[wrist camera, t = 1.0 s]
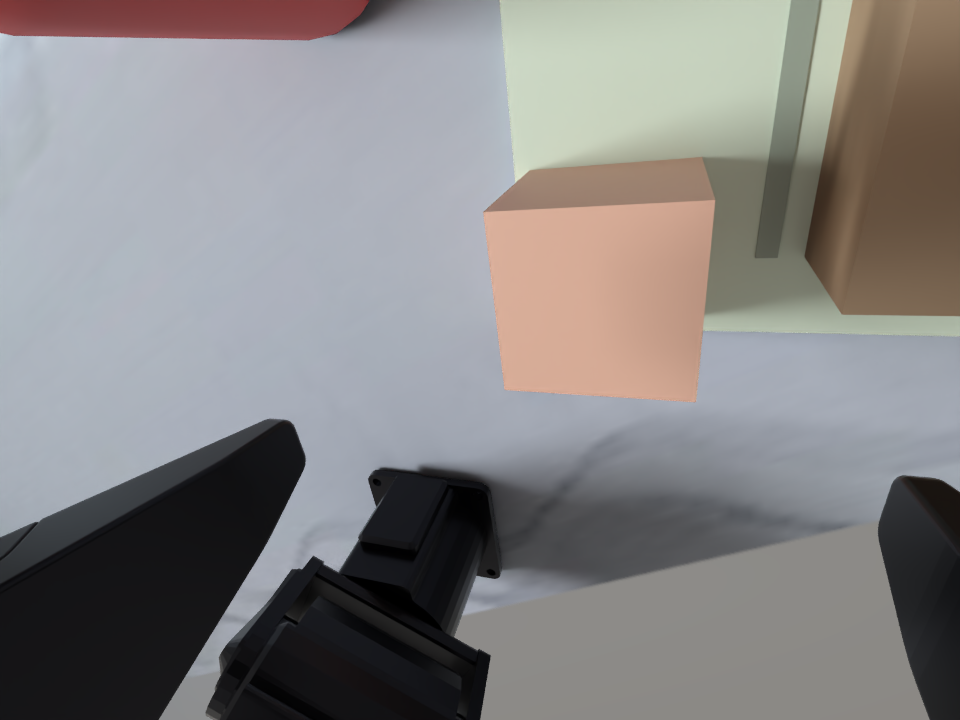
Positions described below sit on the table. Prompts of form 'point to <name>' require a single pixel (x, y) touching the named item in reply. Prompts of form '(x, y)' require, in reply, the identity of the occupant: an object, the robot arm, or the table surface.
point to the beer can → (179, 18)
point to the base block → (893, 164)
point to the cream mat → (701, 130)
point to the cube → (603, 278)
